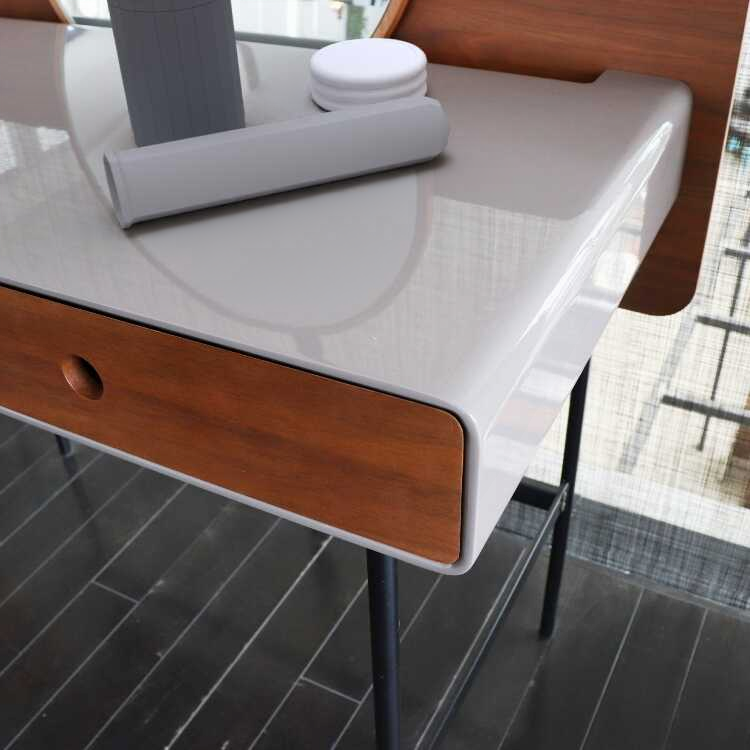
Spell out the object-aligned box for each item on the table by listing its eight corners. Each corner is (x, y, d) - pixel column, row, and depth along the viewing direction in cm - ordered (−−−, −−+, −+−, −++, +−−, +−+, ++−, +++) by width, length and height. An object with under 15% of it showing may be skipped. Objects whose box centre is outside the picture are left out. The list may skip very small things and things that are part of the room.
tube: (426, 87, 76) (99, 148, 69) (457, 87, 71) (108, 152, 64) (436, 157, 78) (117, 224, 71) (466, 161, 73) (127, 234, 66)
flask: (128, 160, 77) (90, -29, 69) (140, 115, 84) (107, -60, 76) (245, 151, 78) (221, -37, 69) (246, 108, 85) (225, -68, 77)
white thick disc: (441, 109, 83) (441, 68, 81) (323, 124, 81) (320, 82, 79) (410, 69, 91) (409, 30, 89) (302, 82, 89) (299, 43, 87)
